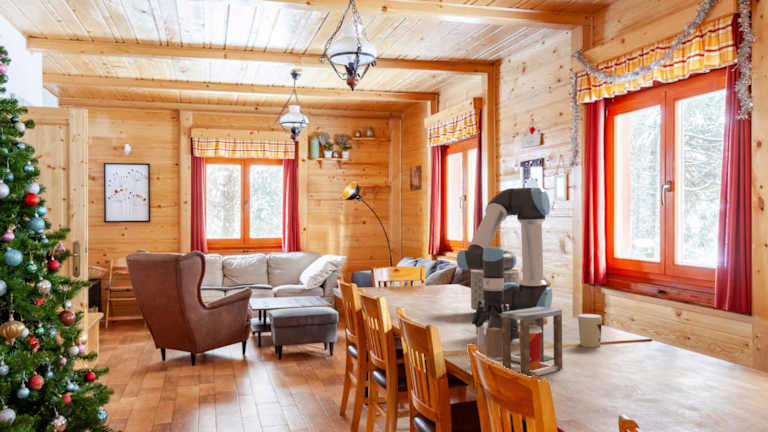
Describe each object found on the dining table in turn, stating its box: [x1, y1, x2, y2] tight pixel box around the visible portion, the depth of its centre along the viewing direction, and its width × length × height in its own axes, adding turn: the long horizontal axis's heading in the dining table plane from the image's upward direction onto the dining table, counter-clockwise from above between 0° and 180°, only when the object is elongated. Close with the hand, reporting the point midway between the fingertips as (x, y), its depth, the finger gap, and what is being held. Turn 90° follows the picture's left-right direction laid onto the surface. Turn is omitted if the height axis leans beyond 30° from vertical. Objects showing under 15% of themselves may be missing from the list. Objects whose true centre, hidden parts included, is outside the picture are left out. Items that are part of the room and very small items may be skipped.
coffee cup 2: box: [577, 313, 603, 348], centre depth 242 cm, size 9×9×12 cm
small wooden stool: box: [501, 307, 563, 377], centre depth 204 cm, size 10×19×20 cm, turn 126°
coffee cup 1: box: [518, 324, 542, 370], centre depth 205 cm, size 8×8×15 cm
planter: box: [470, 268, 520, 318], centre depth 314 cm, size 25×25×24 cm
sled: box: [485, 327, 559, 377], centre depth 210 cm, size 25×12×12 cm, turn 36°
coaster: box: [513, 352, 554, 362], centre depth 222 cm, size 13×13×1 cm
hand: (494, 347), depth 218 cm, fingers open, 13 cm apart
